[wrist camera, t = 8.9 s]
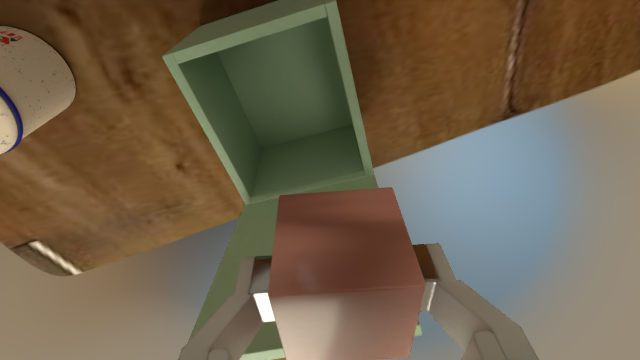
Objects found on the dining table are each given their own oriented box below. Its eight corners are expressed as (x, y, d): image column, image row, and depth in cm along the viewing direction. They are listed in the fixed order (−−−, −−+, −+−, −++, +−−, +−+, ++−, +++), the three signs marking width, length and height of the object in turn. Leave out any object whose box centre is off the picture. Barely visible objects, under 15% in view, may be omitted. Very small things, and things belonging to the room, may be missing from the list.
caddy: (199, 26, 30) (161, 56, 22) (328, -17, 28) (336, -1, 20) (258, 151, 38) (246, 205, 31) (359, 125, 37) (374, 175, 29)
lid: (177, 365, 16) (217, 414, 19) (420, 324, 15) (432, 384, 17) (243, 205, 30) (262, 244, 32) (374, 174, 28) (384, 218, 31)
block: (292, 266, 15) (287, 366, 11) (278, 194, 12) (266, 295, 9) (385, 259, 15) (409, 358, 11) (392, 186, 12) (427, 285, 9)
